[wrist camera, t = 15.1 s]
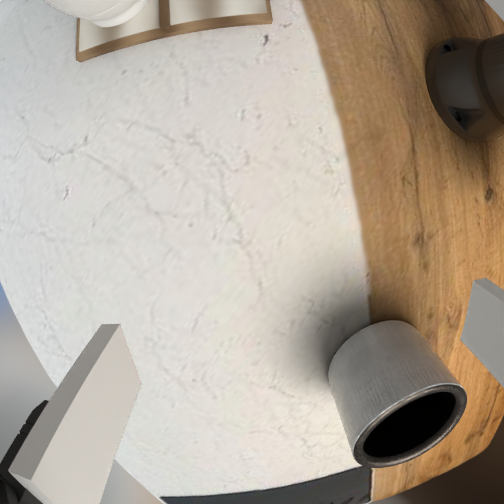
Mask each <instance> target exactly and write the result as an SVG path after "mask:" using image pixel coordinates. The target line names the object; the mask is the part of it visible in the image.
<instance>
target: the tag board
mask: <svg viewBox="0 0 504 504" xmlns="http://www.w3.org/2000/svg"><path fill="white" fill-rule="evenodd" d="M272 20H273V19H272V13H271V6H270V0H148V1H147V3H146V5H145V6H144V7H143V9H142V10H141V11H140V12H139V13H138V14H137V15H135V16H134V17H133V18H131V19H130V20H128V21H127V22H125V23H122V24H120V25H117V26H114V27H99V26H97V25H95V24H93V23H92V22H91V21H89V20H84V19H80V18H78V22H77V46H76V60H77V61H79V62H83V61H85V60H88V59H91V58H94V57H97V56H100V55H103V54H106V53H109V52H112V51H115V50H118V49H122V48H125V47H129V46H132V45H136V44H140V43H144V42H148V41H152V40H156V39H160V38H165V37H170V36H175V35H180V34H185V33H191V32H197V31H203V30H210V29H217V28H225V27H234V26H245V25H258V24H272Z"/></svg>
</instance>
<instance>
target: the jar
mask: <svg viewBox="0 0 504 504" xmlns="http://www.w3.org/2000/svg"><path fill="white" fill-rule="evenodd" d="M44 1H45V2H46V3H48V4H49V5H50V6H52V7H53V8H55V9H57V10H59V11H61V12H63V13H66V14H68V15H72V16H75V17H78V18H80V19H84V20H89V21H91V22H92V23H93V24H95V25H97V26H99V27H114V26H117V25H120V24H122V23H125V22H127V21H128V20H130V19H131V18H133V17H134V16H135V15H137V14H138V13H139V12H140V11H141V10H142V9H143V7H144V6H145V5H146V3H147V1H148V0H44Z"/></svg>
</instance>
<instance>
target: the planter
mask: <svg viewBox="0 0 504 504" xmlns="http://www.w3.org/2000/svg"><path fill="white" fill-rule="evenodd" d="M328 379H329V386H330V389H331V392H332V395H333V398H334V400H335V403H336V406H337V409H338V412H339V415H340V417H341V420H342V423H343V426H344V429H345V432H346V435H347V438H348V441H349V444H350V448H351V451H352V454H353V457H354V459H355V460H356V462H358V463H359V464H361V465H363V466H365V467H370V468H383V467H390V466H394V465H398V464H401V463H404V462H407V461H409V460H412V459H414V458H416V457H418V456H420V455H422V454H423V453H425V452H427V451H428V450H430V449H431V448H433V447H434V446H435V445H437V444H438V443H439V442H440V441H441V440H443V439H444V438H445V437H446V436H447V435H448V434H449V433H450V432H451V431H452V429H453V428H454V427H455V426H456V424H457V423H458V422H459V420H460V418H461V417H462V415H463V413H464V410H465V408H466V404H467V394H466V391H465V390H464V388H463V387H462V386H461V384H460V383H459V382H458V380H457V379H456V378H455V377H454V375H453V374H452V373H451V371H450V370H449V369H448V367H447V366H446V365H445V364H444V362H443V361H442V360H441V358H440V357H439V356H438V355H437V353H436V352H435V351H434V349H433V348H432V347H431V346H430V344H429V343H428V342H427V341H426V339H425V338H424V337H423V336H422V334H421V333H420V332H419V331H418V330H417V329H416V328H415V327H413V326H412V325H410V324H409V323H406V322H403V321H398V320H388V321H382V322H378V323H375V324H372V325H370V326H367V327H365V328H363V329H362V330H360V331H358V332H357V333H355V334H354V335H352V336H351V337H350V338H349V339H348V340H347V341H346V342H345V343H343V345H342V346H341V347H340V348H339V349H338V351H337V352H336V354H335V355H334V357H333V359H332V361H331V363H330V367H329V372H328Z"/></svg>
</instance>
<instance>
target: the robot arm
mask: <svg viewBox="0 0 504 504" xmlns="http://www.w3.org/2000/svg"><path fill="white" fill-rule="evenodd" d="M426 79H427V85H428V90H429V93H430V96H431V99H432V102H433V104H434V106H435V108H436V110H437V112H438V114H439V115H440V117H441V118H442V120H443V121H444V122H445V124H446V125H447V126H448V127H449V128H450V129H451V130H452V131H453V132H454V133H456V134H457V135H459V136H460V137H462V138H464V139H467V140H470V141H483V142H484V141H490V140H493V139H495V138H497V137H499V136H502V135H504V33H503V34H500V35H497V36H494V37H492V38H488V39H485V40H482V39H474V38H464V37H454V38H449V39H447V40H445V41H442V42H440V43H438V44H437V45H436V46H435V47H434V48H433V49H432V50H431V52H430V54H429V57H428V60H427V65H426ZM460 340H461V341H462V342H463V343H464V344H465V345H466V346H467V347H468V348H469V349H470V351H471V352H472V353H473V354H474V355H475V356H476V357H477V358H478V359H479V360H480V361H481V362H482V364H483V365H484V366H485V367H486V368H487V369H488V370H489V371H490V372H491V374H492V375H493V376H494V377H495V378H496V379H497V380H498V381H499V383H500V384H501V385H502V386H503V387H504V290H503V289H502V288H500V287H499V286H497V285H496V284H494V283H493V282H491V281H490V280H488V279H487V278H483V279H479V280H474V281H473V285H472V290H471V296H470V301H469V305H468V310H467V315H466V319H465V323H464V327H463V331H462V335H461V339H460ZM141 385H142V382H141V380H140V377H139V375H138V372H137V370H136V367H135V364H134V362H133V359H132V356H131V354H130V351H129V348H128V345H127V342H126V339H125V336H124V334H123V331H122V328H121V324H102V325H101V326H100V328H99V329H98V330H97V332H96V333H95V335H94V336H93V337H92V339H91V340H90V342H89V343H88V344H87V346H86V347H85V349H84V350H83V351H82V353H81V354H80V356H79V357H78V359H77V360H76V361H75V363H74V364H73V366H72V367H71V369H70V370H69V372H68V373H67V375H66V376H65V378H64V379H63V381H62V382H61V384H60V385H59V387H58V388H57V390H56V391H55V393H54V394H53V396H52V397H51V399H50V400H49V401H47V400H44V401H43V402H42V403H41V404H40V405H39V406H37V407H36V408H35V409H34V410H33V411H32V412H31V414H30V415H29V417H28V419H27V420H26V424H24V425H23V427H22V428H21V430H20V434H18V435H17V436H16V438H15V439H14V441H13V443H12V444H11V446H10V448H9V450H8V451H7V453H6V455H5V457H4V458H3V460H2V462H1V463H0V504H100V501H101V498H102V494H103V491H104V488H105V485H106V482H107V479H108V476H109V473H110V470H111V467H112V464H113V461H114V458H115V455H116V453H117V450H118V447H119V444H120V441H121V438H122V436H123V433H124V430H125V427H126V425H127V422H128V419H129V417H130V414H131V411H132V408H133V406H134V403H135V401H136V398H137V395H138V393H139V390H140V388H141Z"/></svg>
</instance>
